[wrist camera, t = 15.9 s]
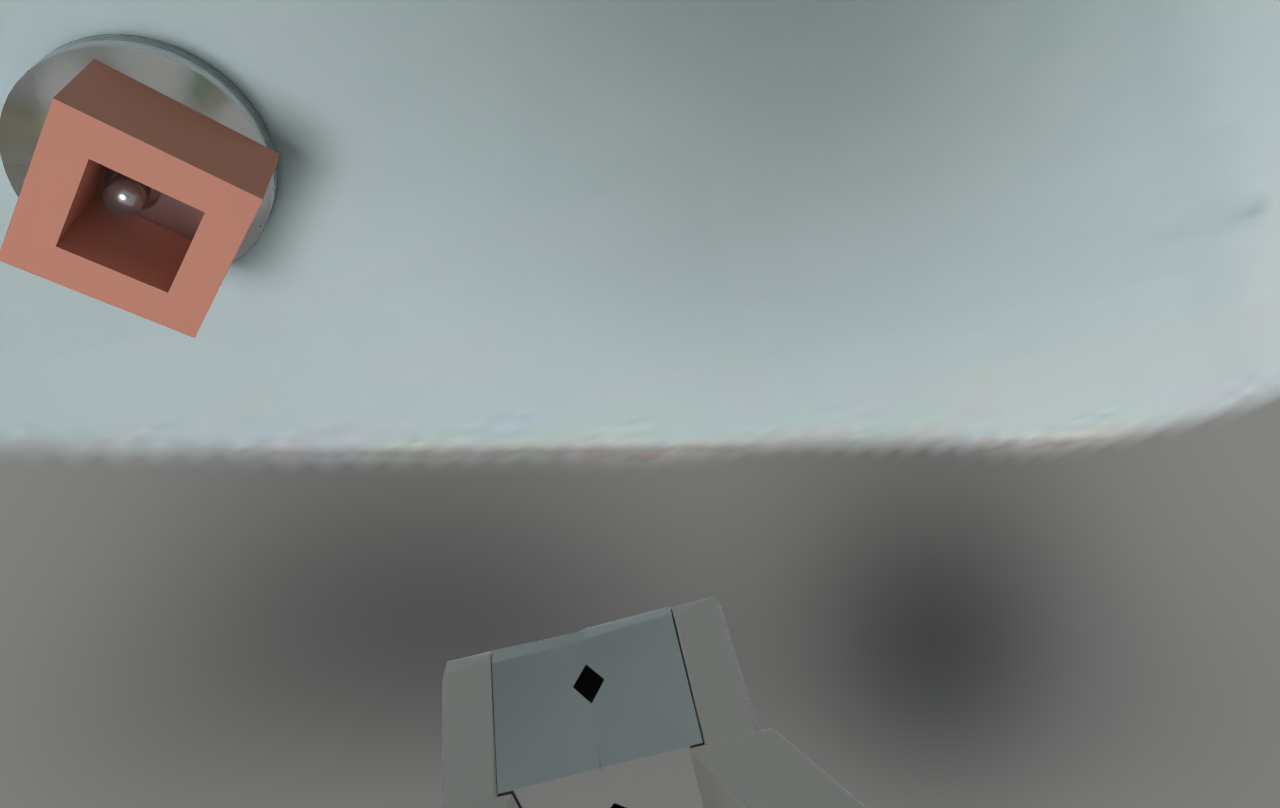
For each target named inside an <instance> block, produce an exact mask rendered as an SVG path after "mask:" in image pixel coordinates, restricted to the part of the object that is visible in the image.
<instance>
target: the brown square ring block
mask: <svg viewBox="0 0 1280 808" xmlns="http://www.w3.org/2000/svg"><path fill="white" fill-rule="evenodd" d="M279 157H280V154H279V153H277V152H275V151H273V150H271V149H269V148H267V147H265V146H263V145H262V144H260V143H258V142H256V141H254V140H252V139H250V138H248V137H246V136H244V135H242V134H240V133H238V132H236V131H234V130H232V129H230V128H228V127H226V126H224V125H222V124H221V123H219V122H217V121H215V120H213V119H211V118H209V117H207V116H205V115H203V114H201V113H199V112H197V111H195V110H193V109H191V108H189V107H187V106H185V105H183V104H181V103H180V102H178V101H176V100H174V99H172V98H170V97H168V96H166V95H164V94H162V93H160V92H158V91H156V90H154V89H152V88H150V87H148V86H146V85H144V84H142V83H141V82H139V81H137V80H135V79H133V78H131V77H129V76H127V75H125V74H123V73H121V72H119V71H117V70H115V69H113V68H111V67H109V66H107V65H105V64H103V63H101V62H100V61H98V60H96V59H93V60H92V61H91V62H90V63H89V64H88V65H87V66H86V67H85V68H84V69H83V70H82V71H81V72H80V73H79V74H78V75H77V76H76V77H74V78H73V79H72V80H71V81H70V82H69V83H68V84H67V85H66V86H65V87H64V88H63V89H62V90H61V91H60V92H59V93H58V94H57V95H56V96H55V97H54V98H53V99H52V102H51V105H50V108H49V111H48V114H47V117H46V120H45V122H44V125H43V128H42V131H41V134H40V137H39V140H38V143H37V146H36V149H35V151H34V154H33V157H32V160H31V163H30V166H29V169H28V172H27V175H26V178H25V180H24V183H23V186H22V189H21V192H20V195H19V198H18V201H17V204H16V207H15V209H14V212H13V215H12V218H11V221H10V224H9V227H8V230H7V233H6V236H5V238H4V241H3V244H2V247H1V250H0V261H2V262H5V263H7V264H10V265H12V266H15V267H17V268H20V269H22V270H25V271H27V272H30V273H32V274H35V275H37V276H40V277H42V278H45V279H47V280H50V281H53V282H55V283H58V284H60V285H63V286H65V287H68V288H70V289H73V290H75V291H78V292H80V293H83V294H85V295H88V296H90V297H93V298H95V299H98V300H100V301H103V302H106V303H108V304H111V305H113V306H116V307H118V308H121V309H123V310H126V311H128V312H131V313H133V314H136V315H138V316H141V317H143V318H146V319H148V320H151V321H154V322H156V323H159V324H161V325H164V326H166V327H169V328H171V329H174V330H176V331H179V332H181V333H184V334H186V335H189V336H191V337H194V338H195V336H196V334H197V332H198V330H199V328H200V326H201V324H202V322H203V320H204V318H205V316H206V314H207V312H208V310H209V308H210V306H211V304H212V302H213V300H214V298H215V296H216V294H217V292H218V290H219V287H220V285H221V283H222V281H223V279H224V277H225V275H226V273H227V271H228V269H229V267H230V265H231V263H232V261H233V259H234V257H235V255H236V253H237V251H238V249H239V247H240V245H241V243H242V241H243V239H244V237H245V235H246V233H247V231H248V229H249V226H250V224H251V222H252V220H253V218H254V216H255V214H256V212H257V210H258V208H259V206H260V204H261V202H262V200H263V198H264V195H265V193H266V190H267V187H268V185H269V182H270V180H271V177H272V175H273V172H274V169H275V167H276V164H277V162H278V159H279ZM104 167H108V168H110V169H112V170H114V171H116V172H118V173H120V174H123V175H125V176H127V177H129V178H131V179H133V180H136V181H138V182H140V183H142V184H144V185H146V186H149V187H151V188H153V189H155V190H157V191H159V192H162V193H164V194H166V195H168V196H170V197H172V198H175V199H177V200H179V201H181V202H183V203H185V204H188V205H190V206H192V207H194V208H196V209H198V210H200V211H203V212H205V214H204V216H203V218H202V220H201V223H200V225H199V227H198V229H197V231H196V233H195V236H194V238H193V240H190V239H188V238H186V237H184V236H181V235H179V234H177V233H175V232H172V231H170V230H168V229H166V228H163V227H161V226H159V225H157V224H154V223H152V222H150V221H148V220H145V219H143V218H141V217H139V216H137V215H134V216H132V217H123V216H119V215H116V214H114V213H113V212H111V211H110V210H109V209H108V208H107V207H106V205H105V203H104V201H103V200H101V199H98V198H96V197H94V193H95V190H96V188H97V185H98V183H99V180H100V178H101V175H102V172H103V170H104Z"/></svg>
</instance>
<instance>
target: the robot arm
mask: <svg viewBox="0 0 1280 808" xmlns="http://www.w3.org/2000/svg"><path fill="white" fill-rule="evenodd" d="M671 613H672V614H671ZM672 617H673V618H672ZM442 728H443V729H442V808H867V807H865V806H864V805H863V804H862V803H861V802H859V801H858V800H857V799H856V798H855V797H854V796H852V795H851V794H850V793H849V792H848V791H846V790H845V789H844V788H843V787H842V786H841V785H839V784H838V783H837V782H836V781H835V780H834V779H832V778H831V777H830V776H829V775H827V774H826V773H825V772H824V771H823V770H822V769H820V768H819V767H818V766H817V765H816V764H815V763H813V762H812V761H811V760H810V759H809V758H808V757H806V756H805V755H804V754H803V753H802V752H801V751H799V750H798V749H797V748H796V747H795V746H794V745H792V744H791V743H790V742H789V741H788V740H786V739H785V738H784V737H783V736H781V734H779V733H778V732H777V731H776V730H775V729H774V728H771V729H766V730H761V731H759V729H758V726H757V723H756V719H755V716H754V713H753V709H752V707H751V703H750V700H749V696H748V693H747V690H746V687H745V683H744V680H743V677H742V674H741V670H740V667H739V664H738V661H737V658H736V654H735V651H734V648H733V645H732V641H731V638H730V634H729V632H728V628H727V625H726V621H725V618H724V615H723V612H722V608H721V605H720V603H719V602H718V600H717V599H716V597H710V598H706V599H703V600H699V601H695V602H691V603H687V604H683V605H680V606H676V607H672V608H671V610H670V607H666V608H662V609H658V610H655V611H651V612H647V613H643V614H639V615H636V616H631V617H628V618H624V619H620V620H616V621H612V622H608V623H605V624H601V625H597V626H593V627H589V628H585V629H583V631H581V632H577V633H572V634H567V635H563V636H558V637H554V638H549V639H545V640H540V641H536V642H531V643H527V644H523V645H518V646H513V647H509V648H504V649H500V650H496V651H490V652H486V653H482V654H477V655H473V656H469V657H465V658H461V659H457V660H452V661H448V662H447V665H446V668H445V672H444V676H443V726H442Z"/></svg>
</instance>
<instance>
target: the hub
mask: <svg viewBox="0 0 1280 808" xmlns="http://www.w3.org/2000/svg"><path fill="white" fill-rule="evenodd" d="M93 59H96V60H98V61H100V62H101V63H103V64H105V65H107V66H109V67H111V68H113V69H115V70H117V71H119V72H121V73H123V74H125V75H127V76H129V77H131V78H133V79H135V80H137V81H139V82H141V83H142V84H144V85H146V86H148V87H150V88H152V89H154V90H156V91H158V92H160V93H162V94H164V95H166V96H168V97H170V98H172V99H174V100H176V101H178V102H180V103H181V104H183V105H185V106H187V107H189V108H191V109H193V110H195V111H197V112H199V113H201V114H203V115H205V116H207V117H209V118H211V119H213V120H215V121H217V122H219V123H221V124H222V125H224V126H226V127H228V128H230V129H232V130H234V131H236V132H238V133H240V134H242V135H244V136H246V137H248V138H250V139H252V140H254V141H256V142H258V143H260V144H262V145H263V146H265V147H267V148H269V149H271V150H273V151H274V148H273V144H272V142H271V139H270V136H269V134H268V131H267V129H266V127H265V125H264V124H263V122H262V120H261V118H260V116H259V115H258V113H257V112H256V110H255V109H254V107H253V106H252V104H251V103H250V102H249V101H248V99H247V98H246V97H245V96H244V95H243V94H242V92H241V91H240V90H239V89H238V88H237V87H236V86H235V85H234V84H233V83H231V82H230V81H229V80H228V79H227V78H226V77H225V76H224V75H222V74H221V73H220V72H218V71H217V70H216V69H214V68H213V67H212V66H210V65H209V64H207V63H206V62H204V61H202V60H201V59H199V58H197V57H196V56H194V55H192V54H190V53H188V52H186V51H183V50H181V49H179V48H177V47H174V46H171V45H169V44H166V43H163V42H160V41H156V40H152V39H148V38H143V37H138V36H129V35H100V36H93V37H87V38H83V39H80V40H76V41H73V42H70V43H68V44H66V45H64V46H62V47H60V48H58V49H56V50H54V51H53V52H51V53H50V54H49V55H47V56H46V57H44V58H43V59H42V60H41V61H39V62H38V63H37V64H36V65H35V66H33V67H32V68H31V69H30V70H29V71H28V72H27V73H26V74H25V75H24V76H23V77H22V78H21V79H20V80H19V81H18V82H17V83H16V84H15V86H14V87H13V89H12V90H11V92H10V93H9V95H8V97H7V100H6V102H5V104H4V107H3V109H2V114H1V119H0V153H1V157H2V161H3V165H4V168H5V171H6V174H7V176H8V178H9V181H10V183H11V185H12V187H13V189H14V191H15V192H16V194H17V196H18V197H19V195H20V192H21V189H22V186H23V183H24V180H25V178H26V175H27V172H28V169H29V166H30V163H31V160H32V157H33V154H34V151H35V149H36V146H37V143H38V140H39V137H40V134H41V131H42V128H43V125H44V122H45V120H46V117H47V114H48V111H49V108H50V105H51V102H52V99H53V98H54V97H55V96H56V95H57V94H58V93H59V92H60V91H61V90H62V89H63V88H64V87H65V86H66V85H67V84H68V83H69V82H70V81H71V80H72V79H73V78H74V77H76V76H77V75H78V74H79V73H80V72H81V71H82V70H83V69H84V68H85V67H86V66H87V65H88V64H89V63H90V62H91V61H92V60H93ZM277 179H278V172H277V164H276V167H275V169H274V172H273V175H272V177H271V180H270V182H269V185H268V187H267V190H266V193H265V195H264V198H263V200H262V202H261V204H260V206H259V208H258V210H257V212H256V214H255V216H254V218H253V220H252V222H251V224H250V226H249V229H248V231H247V233H246V235H245V237H244V239H243V241H242V243H241V245H240V247H239V249H238V251H237V253H236V255H235V257H234V259H233V261H232V263H234V262H235V261H237V260H238V259H239V258H241V257H242V256H243V255H244V254H245V253H247V252H248V251H249V249H250V248H251V247H252V246H253V245H254V244H255V242H256V241H257V240H258V238H259V236H260V235H261V233H262V231H263V229H264V227H265V224H266V222H267V219H268V217H269V214H270V211H271V209H272V206H273V203H274V199H275V195H276V191H277ZM94 197H96V198H98V199H101V200H103V201H104V203H105V205H106V207H107V208H108V209H109V210H110V211H111V212H113V213H114V214H116V215H119V216H123V217H132V216H134V215H137V216H139V217H141V218H143V219H145V220H148V221H150V222H152V223H154V224H157V225H159V226H161V227H163V228H166V229H168V230H170V231H172V232H175V233H177V234H179V235H181V236H184V237H186V238H188V239H190V240H193V238H194V236H195V233H196V231H197V229H198V227H199V225H200V223H201V220H202V218H203V216H204V214H205V212H203V211H200V210H198V209H196V208H194V207H192V206H190V205H188V204H185V203H183V202H181V201H179V200H177V199H175V198H172V197H170V196H168V195H166V194H164V193H162V192H159V191H157V190H155V189H153V188H151V187H149V186H146V185H144V184H142V183H140V182H138V181H136V180H133V179H131V178H129V177H127V176H125V175H123V174H120V173H118V172H116V171H114V170H112V169H110V168H108V167H104V170H103V172H102V175H101V178H100V180H99V183H98V185H97V188H96V190H95V193H94ZM232 263H231V264H232Z"/></svg>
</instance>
